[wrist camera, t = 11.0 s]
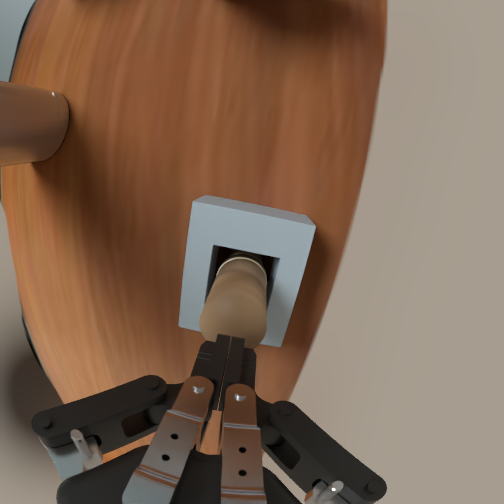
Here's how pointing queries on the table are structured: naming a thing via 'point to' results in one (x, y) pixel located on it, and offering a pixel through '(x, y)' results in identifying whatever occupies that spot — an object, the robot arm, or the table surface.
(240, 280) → the walnut peg
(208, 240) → the hole block
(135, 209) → the table surface
